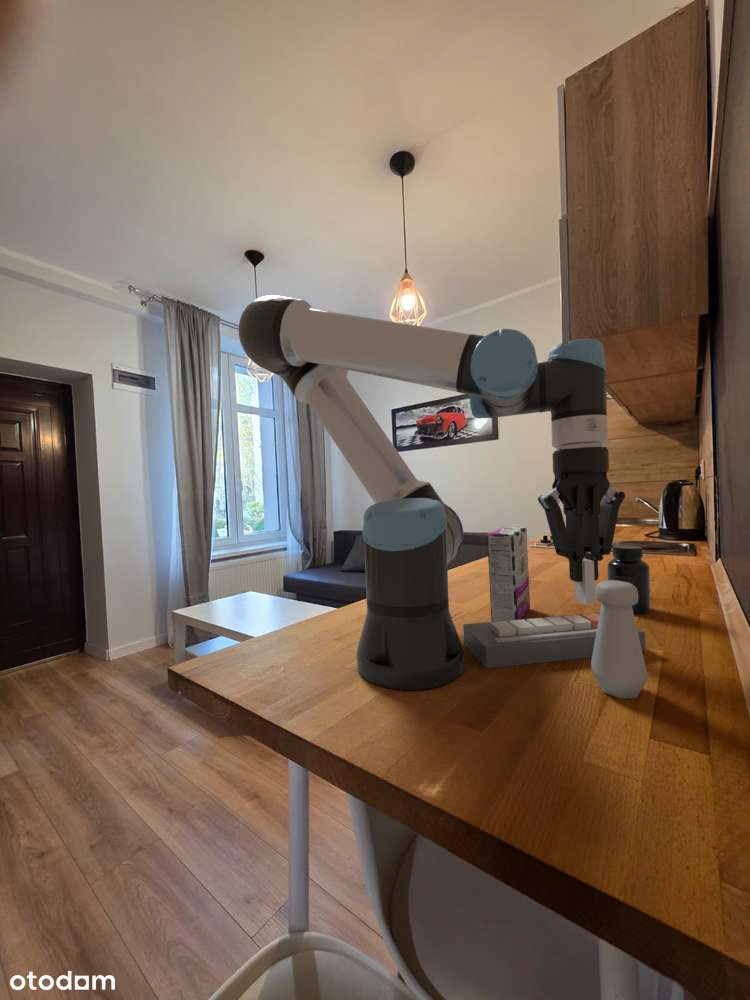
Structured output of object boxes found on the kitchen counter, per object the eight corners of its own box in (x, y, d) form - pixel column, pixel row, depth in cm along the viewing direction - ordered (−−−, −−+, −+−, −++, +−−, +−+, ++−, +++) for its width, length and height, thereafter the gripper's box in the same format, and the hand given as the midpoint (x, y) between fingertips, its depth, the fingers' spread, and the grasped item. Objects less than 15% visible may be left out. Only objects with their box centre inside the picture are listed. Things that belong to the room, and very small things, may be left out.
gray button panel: (486, 668, 54) (485, 639, 54) (464, 642, 63) (463, 618, 63) (645, 652, 57) (644, 624, 57) (602, 629, 66) (601, 606, 65)
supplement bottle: (660, 611, 73) (658, 547, 73) (630, 616, 71) (628, 551, 71) (628, 601, 80) (626, 543, 79) (600, 605, 78) (598, 545, 78)
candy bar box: (505, 605, 81) (502, 526, 80) (530, 608, 78) (528, 526, 77) (489, 622, 71) (485, 533, 71) (517, 626, 69) (514, 533, 68)
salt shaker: (660, 702, 44) (658, 588, 43) (608, 704, 44) (606, 590, 44) (627, 677, 50) (625, 576, 49) (582, 678, 50) (579, 577, 49)
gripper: (552, 446, 55) (559, 613, 56) (638, 443, 56) (643, 605, 57) (526, 451, 62) (532, 598, 63) (602, 448, 64) (606, 592, 64)
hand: (584, 601), depth 60 cm, fingers closed
